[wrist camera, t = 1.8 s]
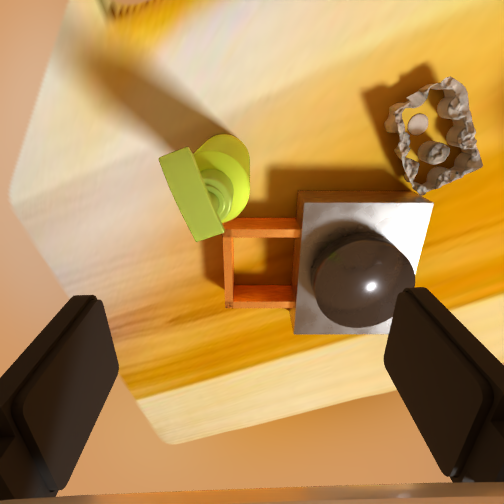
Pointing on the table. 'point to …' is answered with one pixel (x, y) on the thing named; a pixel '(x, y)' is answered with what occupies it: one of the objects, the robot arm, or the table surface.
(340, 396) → the table surface
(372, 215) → the grey block with dome
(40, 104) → the table surface
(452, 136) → the egg carton
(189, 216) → the soap dispenser
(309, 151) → the table surface
